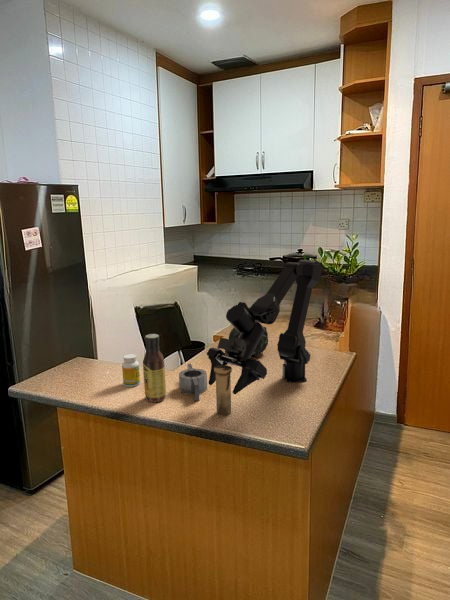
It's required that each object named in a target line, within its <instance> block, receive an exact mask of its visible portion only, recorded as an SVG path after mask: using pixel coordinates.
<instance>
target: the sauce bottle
mask: <svg viewBox="0 0 450 600" xmlns="http://www.w3.org/2000/svg"><path fill="white" fill-rule="evenodd" d="M144 336H145V337H144V341H145V346H146V347H145V348H146V349H145V353H144V357H143V360H142V370H143V384H144V385H143V386H144V395H145V399H146V401H147V402H150V403H159V402H162V401H164V400H165V398H166V397H167V390H166V387H167V385H166V371H165V370H166V367H165V358H164V354H163V353H162V352H161V350H160V335H159V334H157V333H149V334H146V335H144Z"/></svg>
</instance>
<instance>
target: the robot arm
mask: <svg viewBox="0 0 450 600" xmlns="http://www.w3.org/2000/svg"><path fill="white" fill-rule="evenodd" d="M322 273H323V266H322V265H321V263H320V261H318V260H311V259H310V260H309V259H299V260H298V261H297V262H291V261H289V262H286V263H284V265H283V267H282V270H281V272H279V275H278V276H277V277H276V279H275V281H274V282H273V283H272V285H271V287H270V288H269V289H268V291H267V292H266V294H264V295H262V296H260V297H259V298H257V299H256V300H255V301H254V302H253V304H251V306H250V307H248V304H247V303H246V302H243V301H238V303H237V304H236V305H233V306H232V307H231V308H229V309H228V310H227V311H226V314H225V318H226V320H227V321H228V323H229V324H230V325H231V326H233V327H232V328H235V329H236V330H237V331H238V332H241V334H240V336H239V337H238V338H236V337H235V338H234V339H233V340H229V338H224V337H222V336H221V337H219V340H218V344H217V348H216V347H215V346H214V347H210V348H208V351H207V352H206V356H207V357H208V360H210V365H211V366H210V373H209V378H208V385H209V386H213V384H214V383H216V373H215V372H214V368H215V367H216V366H220V365H227V366H228V364H230V365H233V366H237V367H239V368H241V371H240V372H241V373H240V375H239V378H238V380H237V381H236V383H235V385H234V387H233V390H232V394H233V395H238V393H240V392H241V391H242V390H244V389H245V388H247V387H248V386H250V385H251V384H252V383H254V382H256V381H260V379H261V380H262V379H263V380H264V379H265V378H266V376H267V374H268V369H267V367H266V366H265V365H264V364H263V363H262V362H261V361H260V360H258V359H254V358H252V356H253V355H252V354H253V353H254V354H256V353H257V350H256V349H255V348H256V346H257V344H258V343H259V341H260V339H261V337H262V336H265V337H267V336H268V337H269V333H268V330H267V327H265V326H263V325H262V324H265V325H273V324H274V323H275V321H276V320H277V317H278V316H279V313H280V311H281V310H280V308H281V307H280V305H281V303H282V301H283V300H284V298H285V296H286V295H287V293H288V292H289V290H290V289H291V287H292V286H293V285H294V283H296V288H295V294H294V298H293V303H292V307H291V311H290V316H289V321H288V326H287V329H286V330H285V331H284V332H283V333H282V332H281V333H280V334H279V336H278V337H279V338H278V342H277V344H276V346H277V352H278V355H279V360H282V361H284V363H282V377H283V378H284V379H285V381H286V382H287V383H293V382H296V383H297V382H306V381H307V378H306V365H307V364H308V363H309V362H310V360H311V353H310V352H309V351H308V350H307V349H306V343H307V342H306V338H305V335H304V328H305V323H306V320H307V314H308V309H309V305H310V302H311V301H310V300H311V295H312V292H313V288H315V287H316V285H317V284H319V282H320V279H321V275H322ZM262 326H263V327H262ZM223 350H224V351H223Z"/></svg>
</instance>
